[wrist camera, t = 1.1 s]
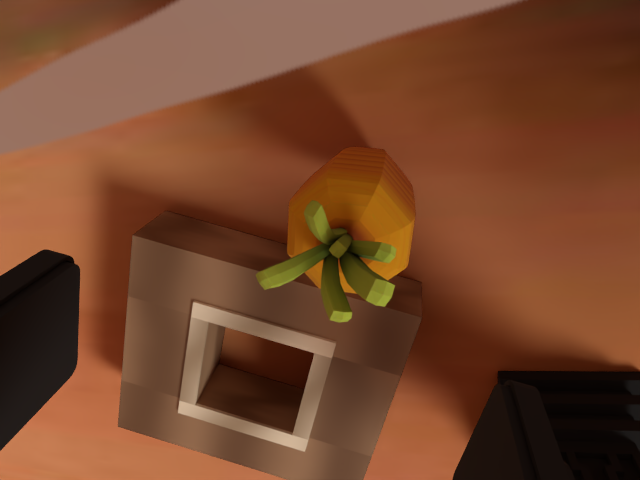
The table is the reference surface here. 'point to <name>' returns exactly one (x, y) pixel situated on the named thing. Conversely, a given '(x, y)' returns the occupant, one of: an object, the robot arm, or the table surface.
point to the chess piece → (591, 419)
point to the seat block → (266, 322)
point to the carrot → (349, 230)
